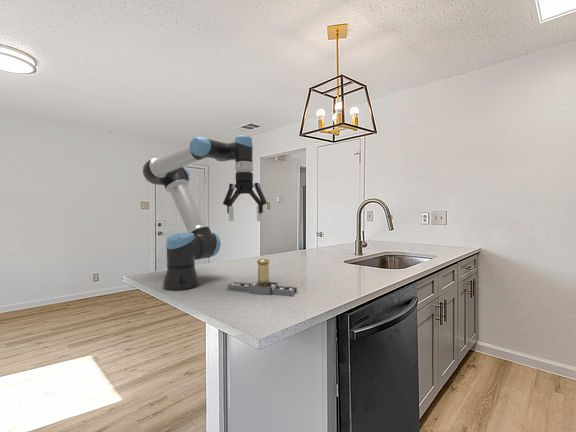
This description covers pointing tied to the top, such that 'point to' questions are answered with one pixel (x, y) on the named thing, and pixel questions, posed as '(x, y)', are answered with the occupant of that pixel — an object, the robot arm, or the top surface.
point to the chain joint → (263, 288)
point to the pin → (263, 272)
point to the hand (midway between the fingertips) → (244, 221)
